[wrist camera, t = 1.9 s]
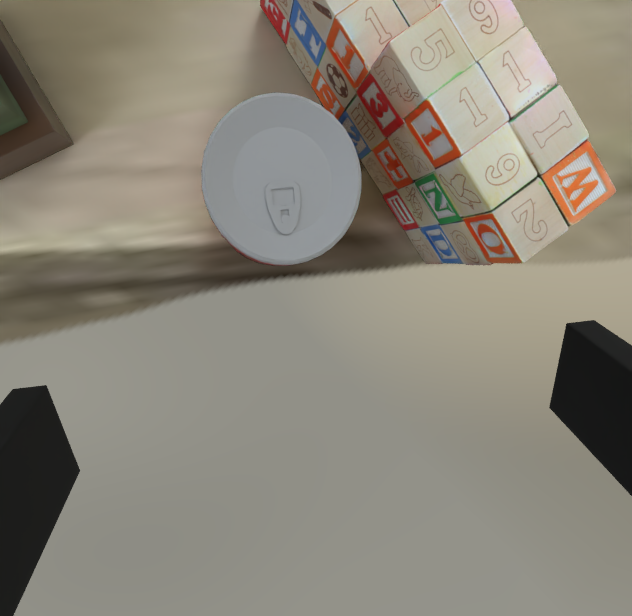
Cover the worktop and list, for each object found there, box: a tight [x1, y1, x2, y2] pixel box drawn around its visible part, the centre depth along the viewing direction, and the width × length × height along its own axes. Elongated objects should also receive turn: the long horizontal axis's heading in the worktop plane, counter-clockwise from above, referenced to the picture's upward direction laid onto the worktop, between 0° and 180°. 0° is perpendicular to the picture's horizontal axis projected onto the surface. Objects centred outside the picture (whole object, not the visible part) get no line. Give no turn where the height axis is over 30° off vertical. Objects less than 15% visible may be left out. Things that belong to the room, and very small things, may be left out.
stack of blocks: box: [260, 0, 616, 265], centre depth 26 cm, size 21×6×12 cm, turn 36°
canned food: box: [201, 92, 361, 266], centre depth 27 cm, size 8×8×11 cm
